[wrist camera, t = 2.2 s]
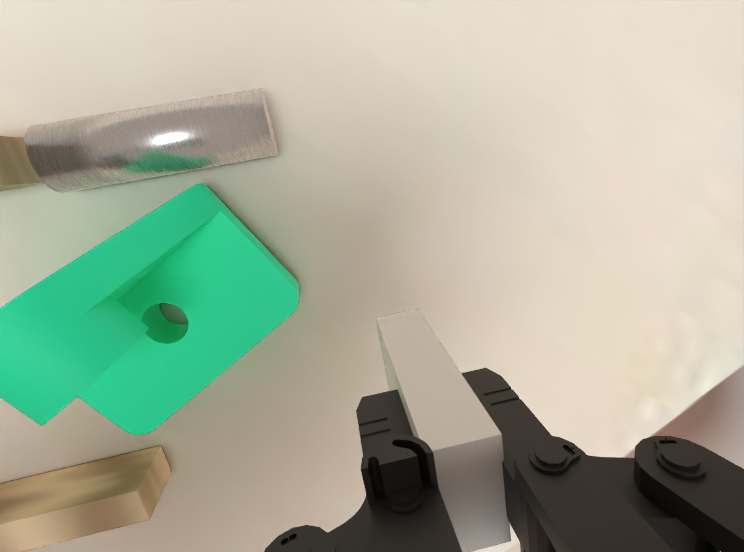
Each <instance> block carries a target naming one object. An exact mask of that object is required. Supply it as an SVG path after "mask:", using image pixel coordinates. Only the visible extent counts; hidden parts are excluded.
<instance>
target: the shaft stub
mask: <svg viewBox="0 0 744 552" xmlns="http://www.w3.org/2000/svg"><path fill="white" fill-rule="evenodd" d="M25 148H26V152H27V156H28V158H29V161H30V163H31V165H32V167H33V169H34V170H35V172H36V173H37V175H38V176H39V177H40V179H41V180H42V181H43V182H44V183H45V184H46V185H47V186H48V187H50V188H51V189H53V190H54V191H57V192H59V193H67V192H73V191H79V190H84V189H90V188H96V187H101V186H107V185H112V184H118V183H124V182H129V181H135V180H141V179H146V178H152V177H157V176H163V175H169V174H174V173H180V172H186V171H191V170H197V169H203V168H208V167H214V166H219V165H225V164H231V163H236V162H242V161H248V160H253V159H259V158H264V157H270V156H276V155H278V148H277V142H276V137H275V133H274V129H273V124H272V120H271V116H270V112H269V108H268V104H267V101H266V97H265V95H264V92H263V90H262V89H256V90H250V91H244V92H238V93H232V94H225V95H219V96H213V97H207V98H201V99H195V100H188V101H182V102H176V103H170V104H164V105H158V106H151V107H145V108H139V109H133V110H127V111H121V112H114V113H108V114H102V115H96V116H90V117H84V118H77V119H71V120H65V121H59V122H53V123H47V124H40V125H34V126H31V127H30V128H28V130H27V131H26V134H25Z"/></svg>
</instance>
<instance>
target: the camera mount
mask: <svg viewBox="0 0 744 552" xmlns="http://www.w3.org/2000/svg"><path fill="white" fill-rule="evenodd" d="M299 293H300V288H299V284H298V282H297V280H296V279H295V278H294V277H293V276H292V275H291V274H290V273H289V271H288V270H287V269H286V268H285V267H284V266H283V265H282V264H281V263H280V262H279V261H278V260H277V259H276V258H275V257H274V256H273V255H272V254H271V253H270V252H269V251H268V250H267V248H266V247H265V246H264V245H263V244H262V243H261V242H260V241H259V240H258V239H257V238H256V237H255V236H254V235H253V234H252V233H251V232H250V231H249V230H248V229H247V228H246V227H245V225H244V224H243V223H242V222H241V221H240V220H239V219H238V218H237V217H236V216H235V215H234V214H233V213H232V212H231V211H230V210H229V209H228V208H227V207H226V206H225V205H224V204H223V202H222V201H221V200H220V199H219V198H218V197H217V196H216V195H215V194H214V193H213V192H212V191H211V190H210V189H209V188H208V187H207V186H206V185H205V184H204V183H202V184H197V185H194V186H193V187H191V188H189V189H188V190H186V191H185V192H183V193H181V194H180V195H178V196H177V197H175V198H173V199H172V200H170V201H169V202H167V203H165V204H164V205H162V206H161V207H159V208H157V209H156V210H154V211H153V212H151V213H149V214H148V215H146V216H145V217H143V218H141V219H140V220H138V221H137V222H135V223H133V224H132V225H130V226H129V227H127V228H125V229H124V230H122V231H121V232H119V233H117V234H116V235H114V236H113V237H111V238H109V239H108V240H106V241H105V242H103V243H101V244H100V245H98V246H97V247H95V248H93V249H92V250H90V251H89V252H87V253H86V254H84V255H82V256H81V257H79V258H78V259H76V260H74V261H73V262H71V263H70V264H68V265H66V266H65V267H63V268H62V269H60V270H58V271H57V272H55V273H54V274H52V275H50V276H49V277H47V278H46V279H44V280H42V281H41V282H39V283H38V284H36V285H34V286H33V287H31V288H30V289H28V290H27V291H25V292H24V293H22V294H21V295H19V296H18V297H16V298H15V299H13V300H12V301H10V302H9V303H7V304H6V305H5V306H3V307H2V308H1V309H0V398H2V399H3V400H5V401H6V402H7V403H9V404H10V405H12V406H13V407H15V408H16V409H18V410H19V411H21V412H22V413H24V414H25V415H26V416H28V417H29V418H31V419H32V420H34V421H35V422H37V423H38V424H40V425H41V426H42V425H44V424H45V423H47V422H48V421H49V420H50V419H52V418H53V417H54V416H55V415H56V414H58V413H59V412H60V411H61V410H62V409H63V408H64V407H66V406H67V405H68V404H69V403H70V402H71V401H73V400H74V399H75V398H76V397H77V396H78V397H79V398H80V399H82V400H83V401H85V402H86V403H87V404H89V405H90V406H91V407H93V408H94V409H95V410H97V411H98V412H99V413H101V414H102V415H104V416H105V417H106V418H108V419H109V420H110V421H112V422H113V423H114V424H116V425H117V426H119V427H120V428H121V429H123V430H124V431H126V432H128V433H130V434H135V435H143V434H147V433H150V432H152V431H153V430H154V429H156V428H157V427H158V426H159V425H160V424H162V423H163V422H164V421H165V420H166V419H168V418H169V417H170V416H171V415H172V414H174V413H175V412H176V411H177V410H178V409H180V408H181V407H182V406H183V405H184V404H185V403H187V402H188V401H189V400H190V399H191V398H193V397H194V396H195V395H196V394H197V393H199V392H200V391H201V390H202V389H203V388H205V387H206V386H207V385H208V384H209V383H210V382H212V381H213V380H214V379H215V378H216V377H218V376H219V375H220V374H221V373H222V372H224V371H225V370H226V369H227V368H228V367H230V366H231V365H232V364H233V363H234V362H236V361H237V360H238V359H239V358H240V357H241V356H243V355H244V354H245V353H246V352H247V351H249V350H250V349H251V348H252V347H253V346H255V345H256V344H257V343H258V342H259V341H261V340H262V339H263V338H264V337H265V336H267V335H268V334H269V333H270V332H271V331H272V330H274V329H275V328H276V327H277V326H278V325H280V324H281V323H282V322H283V321H284V320H286V319H287V318H288V317H289V316H290V315H292V314H293V313H294V311H295V310H296V308H297V306H298V302H299ZM160 303H168V304H172V305H174V306H176V307H178V308H179V309H181V310H182V311H183V312H184V314H185V315H186V317H187V319H188V324H185V325H179V324H175V323H172V322H170V321H169V320H167V319H166V318H165V317H164V316H163V314H162V312H161V310H160Z"/></svg>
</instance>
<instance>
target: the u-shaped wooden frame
mask: <svg viewBox="0 0 744 552" xmlns="http://www.w3.org/2000/svg"><path fill="white" fill-rule="evenodd" d="M42 183H44V182H43V181H42V180H41V179H40V177H39V176H38V175H37V173H36V172H35V170H34V169H33V167H32V165H31V163H30V161H29V158H28V156H27V152H26V148H25V138H17V137H5V136H0V191H2V190H8V189H14V188H19V187H25V186H31V185H37V184H42ZM170 473H171V469H170V467H169V464H168V462H167V459H166V457H165V454H164V452H163V450H162V447H161V446H157V447H153V448H149V449H144V450H140V451H136V452H132V453H128V454H123V455H119V456H115V457H111V458H106V459H102V460H98V461H94V462H89V463H85V464H81V465H77V466H73V467H68V468H64V469H60V470H56V471H51V472H47V473H43V474H39V475H35V476H30V477H26V478H22V479H18V480H13V481H9V482H5V483H1V484H0V552H23V551H27V550H31V549H35V548H39V547H43V546H47V545H51V544H55V543H59V542H63V541H67V540H71V539H75V538H79V537H83V536H86V535H90V534H94V533H98V532H102V531H106V530H110V529H114V528H118V527H122V526H126V525H130V524H134V523H138V522H142V521H146V520H149V519H150V517H151V515H152V513H153V511H154V508H155V506H156V504H157V502H158V500H159V498H160V495H161V493H162V491H163V489H164V487H165V484H166V482H167V480H168V478H169V476H170Z"/></svg>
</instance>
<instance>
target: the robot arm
mask: <svg viewBox="0 0 744 552" xmlns="http://www.w3.org/2000/svg"><path fill="white" fill-rule="evenodd" d="M376 322H377V327H378V333H379V338H380V344H381V349H382V354H383V360H384V365H385V371H386V376H387V382H388V386H389V390H390V391H388V392H383V393H379V394H375V395H370V396H366V397H362V399H361V401H360V403H359V406H358V408H357V410H356V411H357V418H358V424H359V431H360V437H361V444H362V451H363V458H362V464H361V472H362V476H363V481H364V485H365V490H366V498H365V501H364V503H363V504H362V506H361V508H360V509H359V510H358V512H357V513H356V514H355V515H354V516H353V517H352V518H351V519H349V520H348V521H346V522H345V523H344V524H342V525H341V526H339V527H337V528H335V529H334V530H332V531H330V532H329V533H327V532H325V531H324V530H323V529H321V528H320V527H315V526H309V525H304V526H300V527H295V528H292V529H290V530H288V531H286V532H284V533H283V534H281V535H279V536H278V537H277V538H276V539H275V540H274V541H273V542H272V543H271V544H270V545H269V546H268V547H267V548H266V549H265V551H264V552H471V551H475V550H479V549H482V548H486V547H490V546H494V545H498V544H501V543H505V542H509V541H511V535H510V524H511V526H512V528H513V530H514V532H515V533H516V535H517V537H518V539H519V541H520V546H521V552H720V551H721V552H744V469H743V468H741V467H739V466H737V465H735V464H733V463H731V462H730V461H728V460H726V459H724V458H723V457H721V456H719V455H717V454H715V453H714V452H712V451H710V450H708V449H706V448H705V447H702V446H700V445H698V444H695V443H693V442H691V441H689V440H685V439H681V438H676V437H672V436H653V437H649V438H646V439H643V440H641V441H640V442H639V443H638V444H637V445H636V447H635V458H613V457H595V456H588V455H586V454H585V453H584V452H583V451H582V450H581V449H580V448H578V447H577V446H576V445H575V444H573V443H572V442H569V441H567V440H565V439H562V438H560V437H554V436H551V434H550V433H549V432H548V431H547V430H546V428H545V427H544V426H543V425H542V424H541V423H540V421H539V420H538V419H537V418H536V417H535V415H534V414H533V413H532V412H531V411H530V410H529V408H528V407H527V406H526V405H525V404H524V402H523V401H522V400H520V399H519V397H518V395H517V394H516V393H515V392H514V391H513V390H511V387H510V386H509V385H508V384H507V382H506V381H505V380H504V379H503V378H502V376H500V375H498V374H496V373H495V372H493V371H491V370H489V369H487V368H483V369H479V370H474V371H470V372H465V373H461V372H460V371H459V369H458V368H457V366H456V365H455V363H454V362H453V360H452V359H451V357H450V356H449V354H448V353H447V351H446V350H445V348H444V347H443V345H442V344H441V342H440V341H439V339H438V338H437V336H436V335H435V333H434V332H433V330H432V329H431V327H430V326H429V324H428V323H427V321H426V320H425V318H424V317H423V315H422V314H421V312H420V311H419V309H413V310H409V311H404V312H399V313H395V314H390V315H385V316H380V317H376ZM509 522H510V524H509Z"/></svg>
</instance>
